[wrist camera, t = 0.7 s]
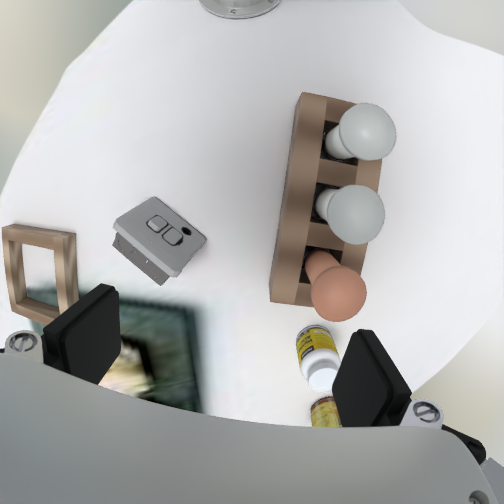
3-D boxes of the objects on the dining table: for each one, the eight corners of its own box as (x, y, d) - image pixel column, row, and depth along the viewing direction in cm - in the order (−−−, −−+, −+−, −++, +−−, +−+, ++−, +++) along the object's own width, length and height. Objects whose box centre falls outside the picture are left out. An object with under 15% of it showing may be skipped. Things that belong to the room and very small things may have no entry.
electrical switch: (208, 238, 38) (187, 263, 29) (187, 266, 39) (162, 296, 31) (155, 195, 37) (120, 207, 28) (136, 224, 38) (100, 243, 29)
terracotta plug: (302, 240, 33) (319, 266, 23) (341, 246, 33) (372, 273, 23) (294, 279, 34) (307, 319, 24) (333, 284, 34) (358, 323, 24)
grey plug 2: (312, 179, 31) (335, 179, 21) (352, 187, 31) (389, 191, 21) (305, 221, 32) (324, 239, 22) (345, 228, 32) (378, 248, 22)
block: (295, 105, 33) (302, 91, 27) (368, 121, 33) (386, 112, 27) (268, 283, 39) (270, 301, 33) (338, 292, 39) (350, 311, 33)
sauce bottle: (347, 410, 45) (373, 496, 25) (315, 422, 46) (331, 510, 26) (337, 388, 43) (365, 482, 24) (303, 402, 44) (317, 497, 25)
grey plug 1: (320, 120, 29) (345, 96, 19) (359, 129, 29) (398, 112, 19) (315, 160, 31) (339, 152, 21) (355, 169, 31) (393, 165, 21)
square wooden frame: (14, 223, 38) (1, 227, 35) (75, 233, 38) (62, 238, 35) (22, 304, 42) (11, 311, 38) (82, 325, 42) (71, 334, 39)
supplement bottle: (304, 320, 40) (315, 358, 31) (336, 329, 40) (354, 368, 31) (289, 349, 41) (295, 391, 32) (321, 358, 42) (333, 399, 32)
